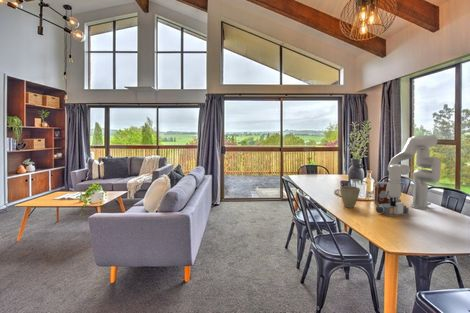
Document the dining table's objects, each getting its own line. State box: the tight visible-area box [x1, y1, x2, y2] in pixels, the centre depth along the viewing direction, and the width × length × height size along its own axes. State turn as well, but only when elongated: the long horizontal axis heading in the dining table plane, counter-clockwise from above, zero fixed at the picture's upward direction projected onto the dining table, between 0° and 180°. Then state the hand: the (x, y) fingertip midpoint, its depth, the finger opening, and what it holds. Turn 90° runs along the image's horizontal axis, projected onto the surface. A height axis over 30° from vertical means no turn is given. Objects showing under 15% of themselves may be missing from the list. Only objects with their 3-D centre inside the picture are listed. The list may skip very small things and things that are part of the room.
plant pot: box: [340, 185, 361, 209], centre depth 209 cm, size 15×15×16 cm
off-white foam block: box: [394, 201, 404, 214], centre depth 188 cm, size 7×2×8 cm, turn 104°
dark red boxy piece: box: [374, 181, 402, 206], centre depth 211 cm, size 9×19×20 cm, turn 78°
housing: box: [375, 203, 409, 217], centre depth 192 cm, size 21×11×7 cm, turn 104°
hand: (392, 206), depth 186 cm, fingers closed
